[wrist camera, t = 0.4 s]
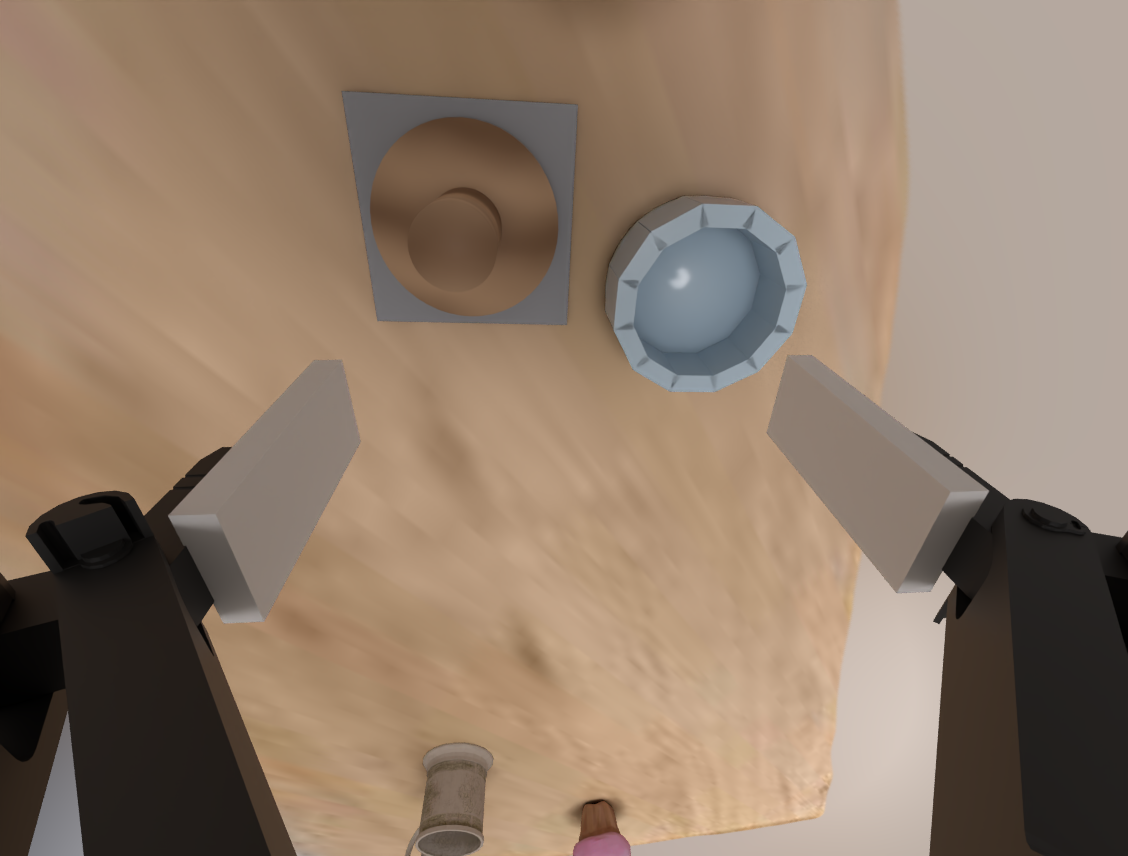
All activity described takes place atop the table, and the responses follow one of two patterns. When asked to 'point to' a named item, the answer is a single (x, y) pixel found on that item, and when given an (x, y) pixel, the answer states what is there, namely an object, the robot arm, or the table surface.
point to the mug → (453, 801)
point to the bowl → (703, 292)
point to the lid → (464, 216)
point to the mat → (532, 123)
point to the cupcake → (600, 833)
